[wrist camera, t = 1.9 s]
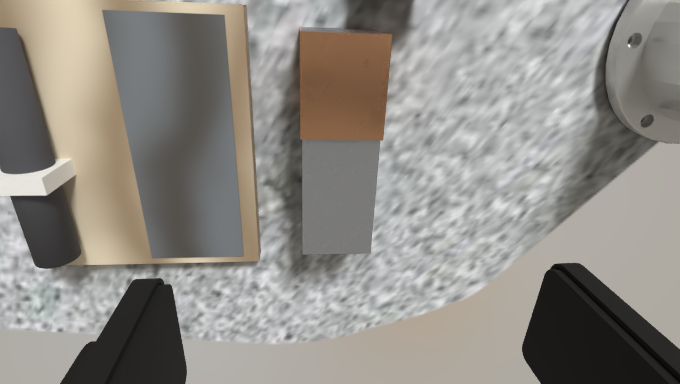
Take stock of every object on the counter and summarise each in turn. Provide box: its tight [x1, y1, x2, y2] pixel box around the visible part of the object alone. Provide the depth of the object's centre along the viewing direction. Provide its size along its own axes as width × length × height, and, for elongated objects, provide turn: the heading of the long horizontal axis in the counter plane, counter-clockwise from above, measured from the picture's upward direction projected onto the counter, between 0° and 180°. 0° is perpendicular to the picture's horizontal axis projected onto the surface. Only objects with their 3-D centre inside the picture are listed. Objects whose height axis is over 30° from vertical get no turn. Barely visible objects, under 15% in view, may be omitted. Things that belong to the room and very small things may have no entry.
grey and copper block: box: [300, 27, 392, 255], centre depth 22 cm, size 4×12×5 cm, turn 178°
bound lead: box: [0, 27, 81, 269], centre depth 21 cm, size 3×13×3 cm, turn 178°
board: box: [0, 0, 261, 266], centre depth 23 cm, size 14×16×1 cm
